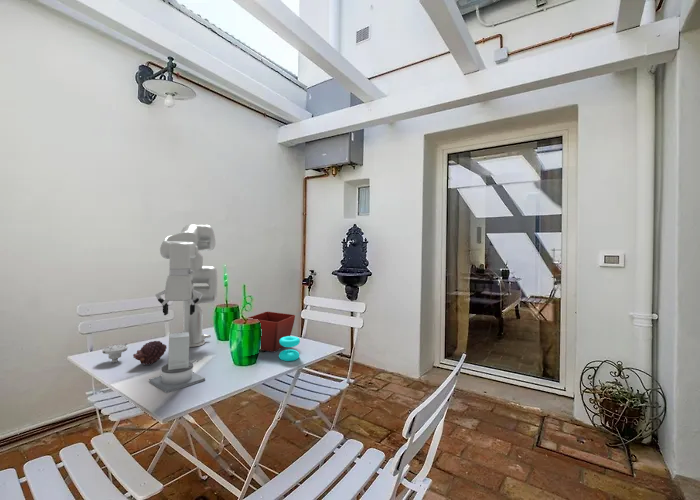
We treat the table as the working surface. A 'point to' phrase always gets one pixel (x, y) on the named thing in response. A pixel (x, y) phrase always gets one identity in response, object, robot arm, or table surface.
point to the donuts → (289, 354)
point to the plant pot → (274, 329)
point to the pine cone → (150, 352)
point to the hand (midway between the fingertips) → (178, 314)
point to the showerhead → (115, 351)
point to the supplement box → (178, 351)
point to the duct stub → (176, 378)
